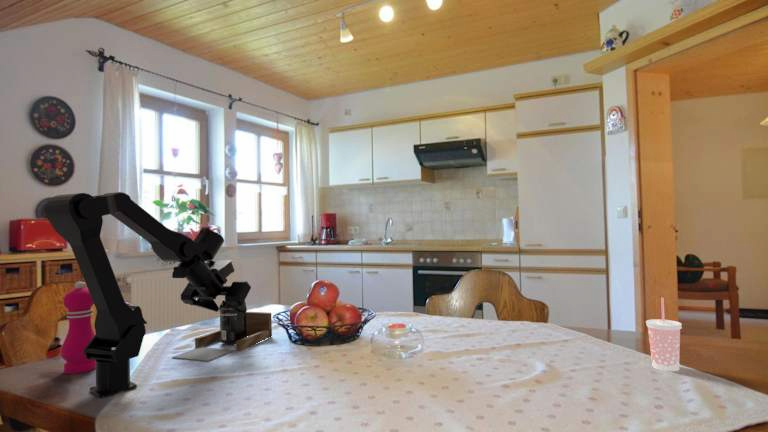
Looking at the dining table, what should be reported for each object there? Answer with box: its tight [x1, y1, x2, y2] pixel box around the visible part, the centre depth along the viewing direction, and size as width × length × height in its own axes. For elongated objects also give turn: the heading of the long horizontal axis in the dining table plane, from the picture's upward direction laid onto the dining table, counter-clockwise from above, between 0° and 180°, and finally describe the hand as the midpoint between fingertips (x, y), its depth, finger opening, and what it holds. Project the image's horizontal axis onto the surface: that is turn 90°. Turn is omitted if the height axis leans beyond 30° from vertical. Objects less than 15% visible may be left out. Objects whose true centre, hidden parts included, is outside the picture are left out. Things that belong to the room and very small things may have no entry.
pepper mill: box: [60, 281, 96, 375], centre depth 100 cm, size 7×7×20 cm
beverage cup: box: [645, 296, 682, 372], centre depth 88 cm, size 6×6×14 cm
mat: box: [171, 346, 235, 363], centre depth 108 cm, size 9×11×1 cm
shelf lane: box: [194, 311, 273, 352], centre depth 119 cm, size 14×14×7 cm
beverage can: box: [218, 297, 247, 346], centre depth 119 cm, size 7×7×12 cm
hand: (231, 310), depth 118 cm, fingers open, 9 cm apart
